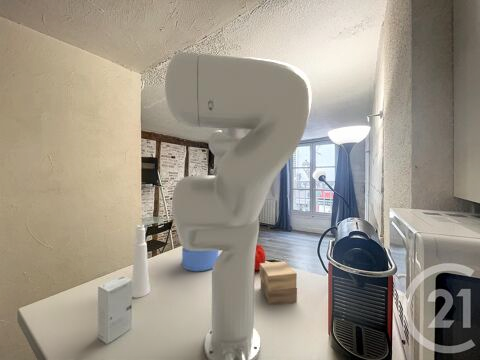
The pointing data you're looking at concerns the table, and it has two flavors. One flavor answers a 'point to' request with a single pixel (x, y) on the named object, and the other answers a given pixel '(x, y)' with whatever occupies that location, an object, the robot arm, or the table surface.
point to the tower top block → (278, 276)
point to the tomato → (259, 257)
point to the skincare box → (114, 309)
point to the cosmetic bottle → (140, 265)
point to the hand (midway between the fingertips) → (225, 225)
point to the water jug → (198, 259)
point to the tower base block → (279, 295)
